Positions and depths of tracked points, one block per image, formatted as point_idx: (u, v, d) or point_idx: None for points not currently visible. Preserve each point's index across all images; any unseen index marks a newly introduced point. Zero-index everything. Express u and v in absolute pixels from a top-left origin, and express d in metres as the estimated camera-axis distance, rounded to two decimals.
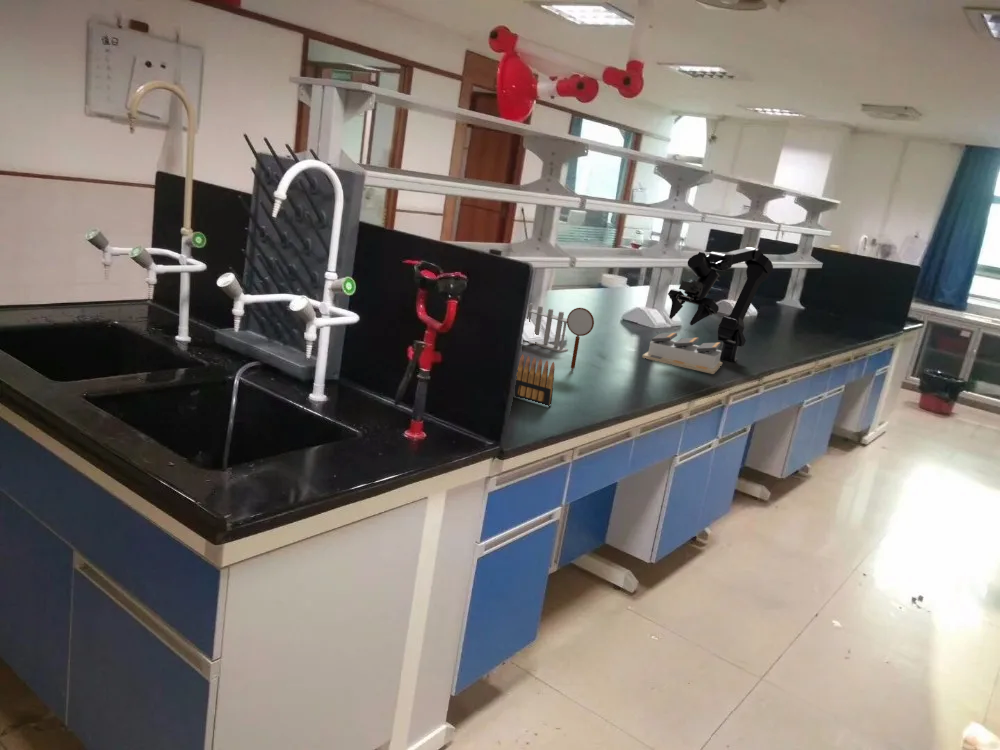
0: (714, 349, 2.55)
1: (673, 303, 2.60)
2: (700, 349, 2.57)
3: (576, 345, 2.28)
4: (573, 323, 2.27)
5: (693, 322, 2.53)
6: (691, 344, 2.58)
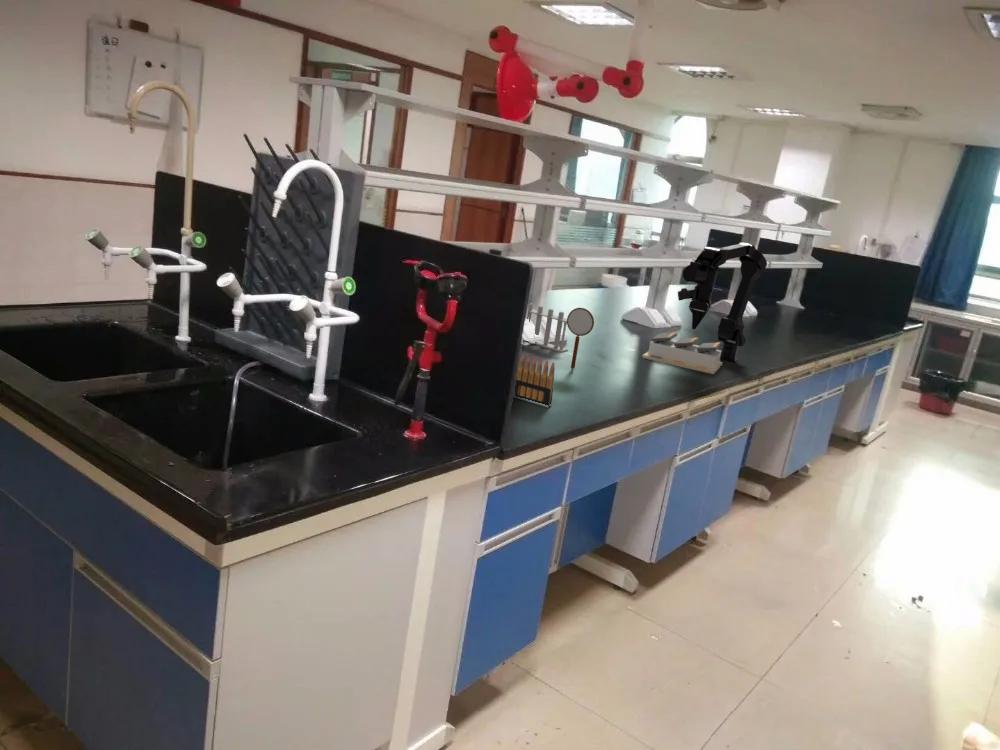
0: (714, 349, 2.55)
1: None
2: (700, 349, 2.57)
3: (576, 345, 2.28)
4: (573, 323, 2.27)
5: (694, 326, 2.56)
6: (691, 344, 2.58)
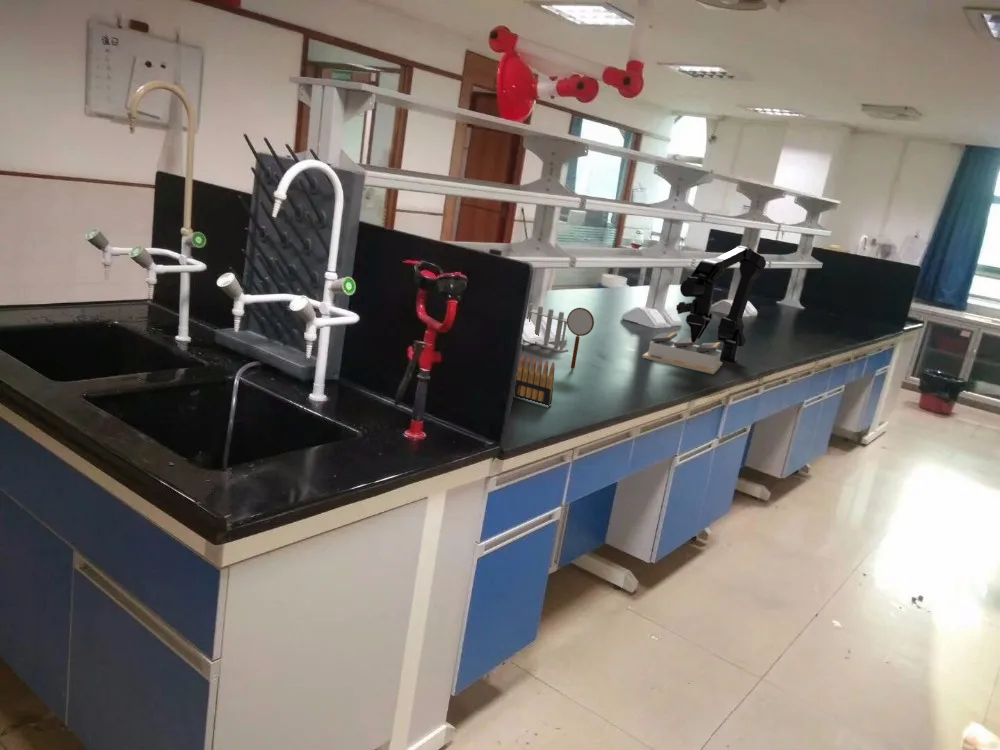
0: (714, 349, 2.55)
1: None
2: (700, 349, 2.57)
3: (576, 345, 2.28)
4: (573, 323, 2.27)
5: (693, 339, 2.58)
6: (691, 344, 2.58)
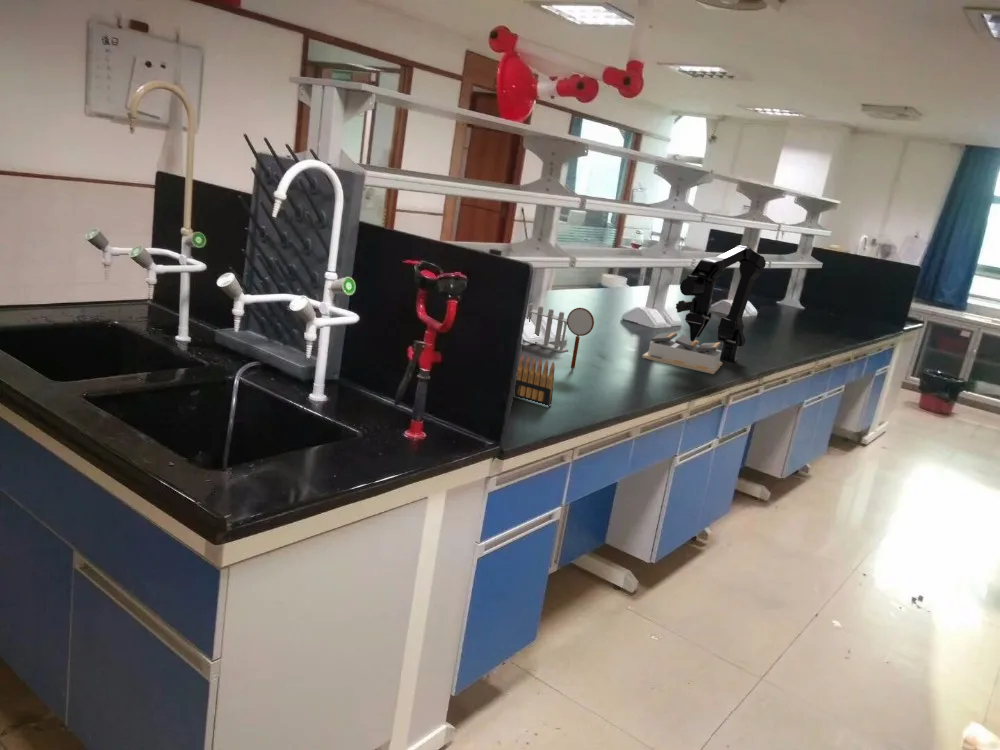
0: (714, 349, 2.55)
1: None
2: (700, 349, 2.57)
3: (576, 345, 2.28)
4: (573, 323, 2.27)
5: (692, 338, 2.58)
6: (691, 347, 2.58)
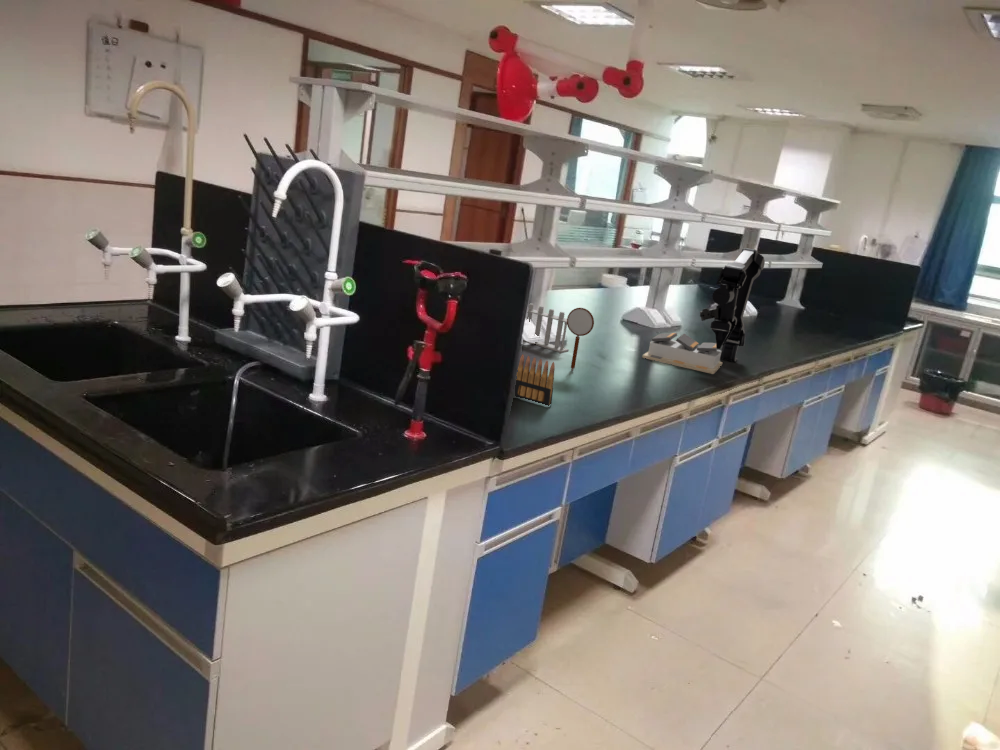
0: (714, 350, 2.55)
1: None
2: (700, 349, 2.57)
3: (576, 345, 2.28)
4: (573, 323, 2.27)
5: (718, 345, 2.55)
6: (690, 349, 2.58)
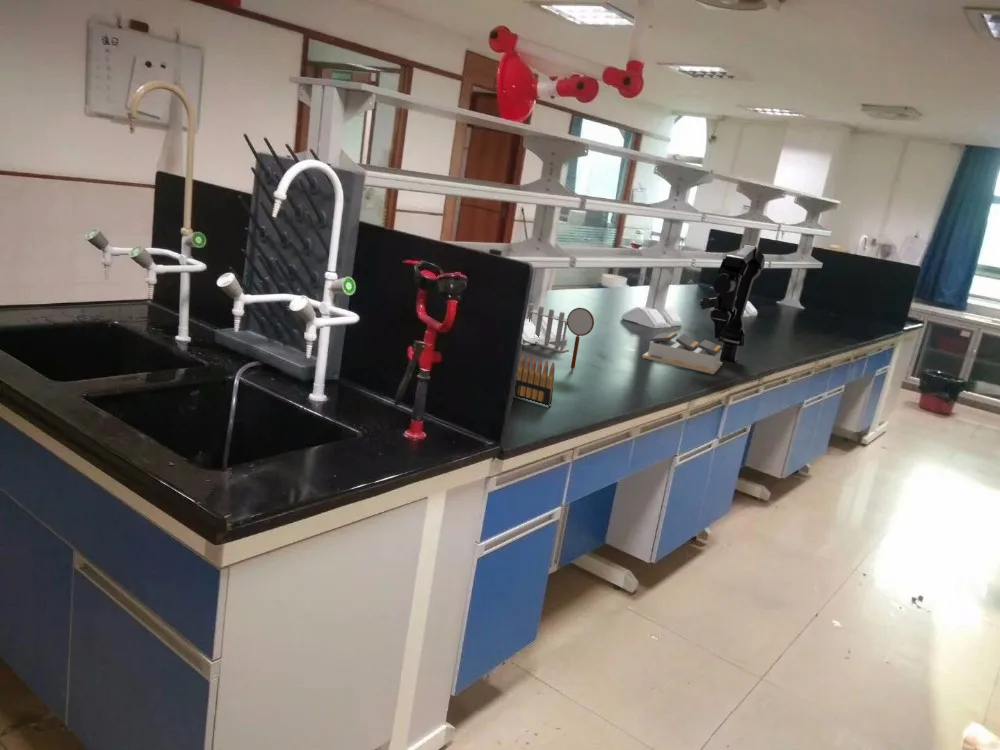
0: (714, 353, 2.55)
1: None
2: (701, 347, 2.57)
3: (576, 345, 2.28)
4: (573, 323, 2.27)
5: (717, 335, 2.54)
6: (690, 349, 2.58)
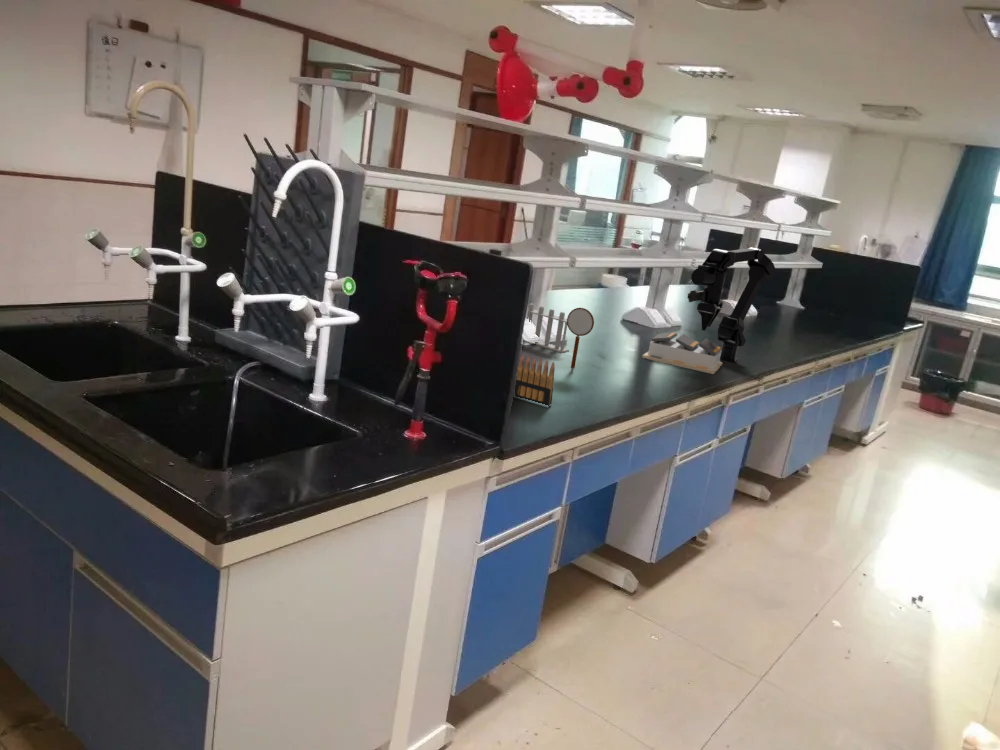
0: (713, 354, 2.55)
1: None
2: (702, 346, 2.56)
3: (576, 345, 2.28)
4: (573, 323, 2.27)
5: (703, 327, 2.62)
6: (691, 349, 2.58)
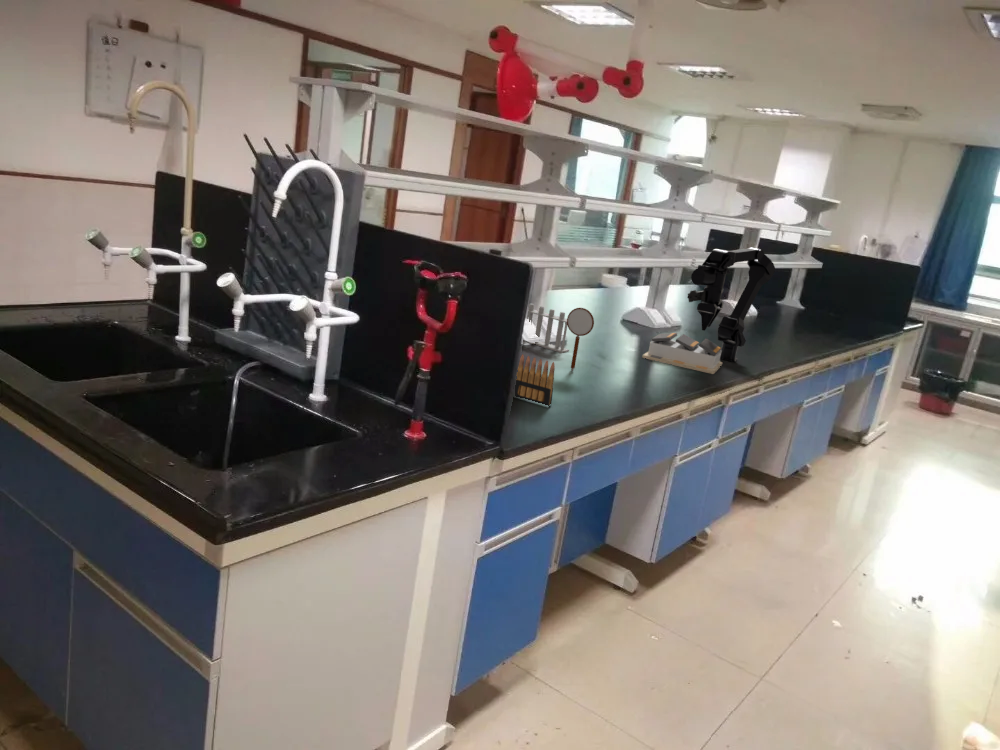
0: (713, 354, 2.55)
1: None
2: (702, 346, 2.56)
3: (576, 345, 2.28)
4: (573, 323, 2.27)
5: (703, 327, 2.62)
6: (691, 348, 2.58)
